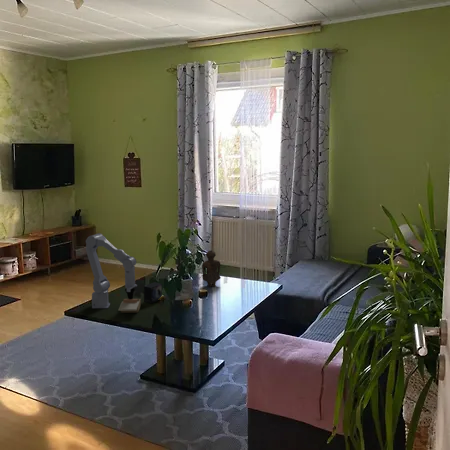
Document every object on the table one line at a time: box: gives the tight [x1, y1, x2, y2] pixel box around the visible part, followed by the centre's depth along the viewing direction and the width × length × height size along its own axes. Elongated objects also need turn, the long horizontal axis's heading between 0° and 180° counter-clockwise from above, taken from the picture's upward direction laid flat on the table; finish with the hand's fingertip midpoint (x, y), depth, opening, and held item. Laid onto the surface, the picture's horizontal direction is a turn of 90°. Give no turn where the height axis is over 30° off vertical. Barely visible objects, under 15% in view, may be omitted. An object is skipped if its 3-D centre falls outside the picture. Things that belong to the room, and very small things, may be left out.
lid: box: [118, 298, 139, 312], centre depth 278 cm, size 10×13×3 cm
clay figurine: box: [201, 250, 221, 288], centre depth 331 cm, size 13×10×25 cm
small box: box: [143, 281, 163, 305], centre depth 301 cm, size 11×6×10 cm, turn 148°
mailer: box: [120, 298, 142, 314], centre depth 287 cm, size 10×13×4 cm
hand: (130, 299), depth 285 cm, fingers closed
